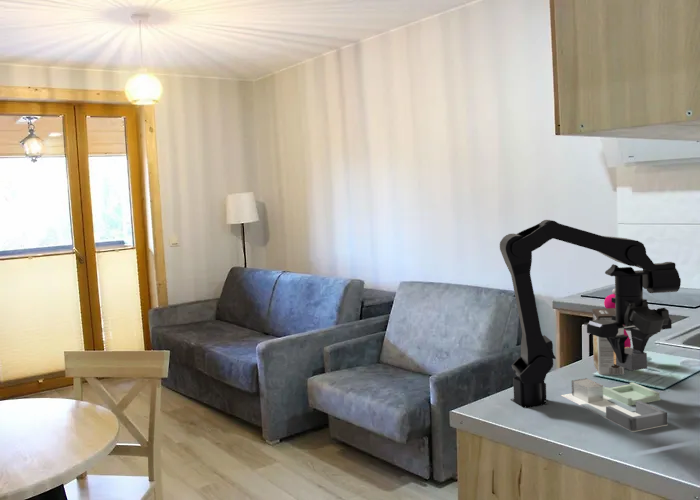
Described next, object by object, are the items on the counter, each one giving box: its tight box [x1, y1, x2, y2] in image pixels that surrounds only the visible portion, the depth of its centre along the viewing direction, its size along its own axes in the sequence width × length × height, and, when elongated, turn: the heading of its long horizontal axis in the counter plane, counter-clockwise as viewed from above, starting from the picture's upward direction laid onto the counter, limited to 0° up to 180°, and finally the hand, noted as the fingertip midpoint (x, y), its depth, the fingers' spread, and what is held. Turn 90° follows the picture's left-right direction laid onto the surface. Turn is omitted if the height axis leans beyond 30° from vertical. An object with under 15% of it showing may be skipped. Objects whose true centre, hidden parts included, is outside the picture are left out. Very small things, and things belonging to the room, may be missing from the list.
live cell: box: [614, 347, 648, 372], centre depth 144 cm, size 4×6×4 cm, turn 16°
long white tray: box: [560, 392, 668, 433], centre depth 138 cm, size 9×24×3 cm, turn 16°
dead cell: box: [571, 377, 604, 403], centre depth 145 cm, size 4×6×4 cm, turn 16°
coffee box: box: [592, 307, 625, 376], centre depth 165 cm, size 9×6×16 cm
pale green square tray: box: [603, 382, 662, 407], centre depth 145 cm, size 9×9×2 cm
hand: (629, 361), depth 144 cm, fingers closed on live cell, 4 cm apart
